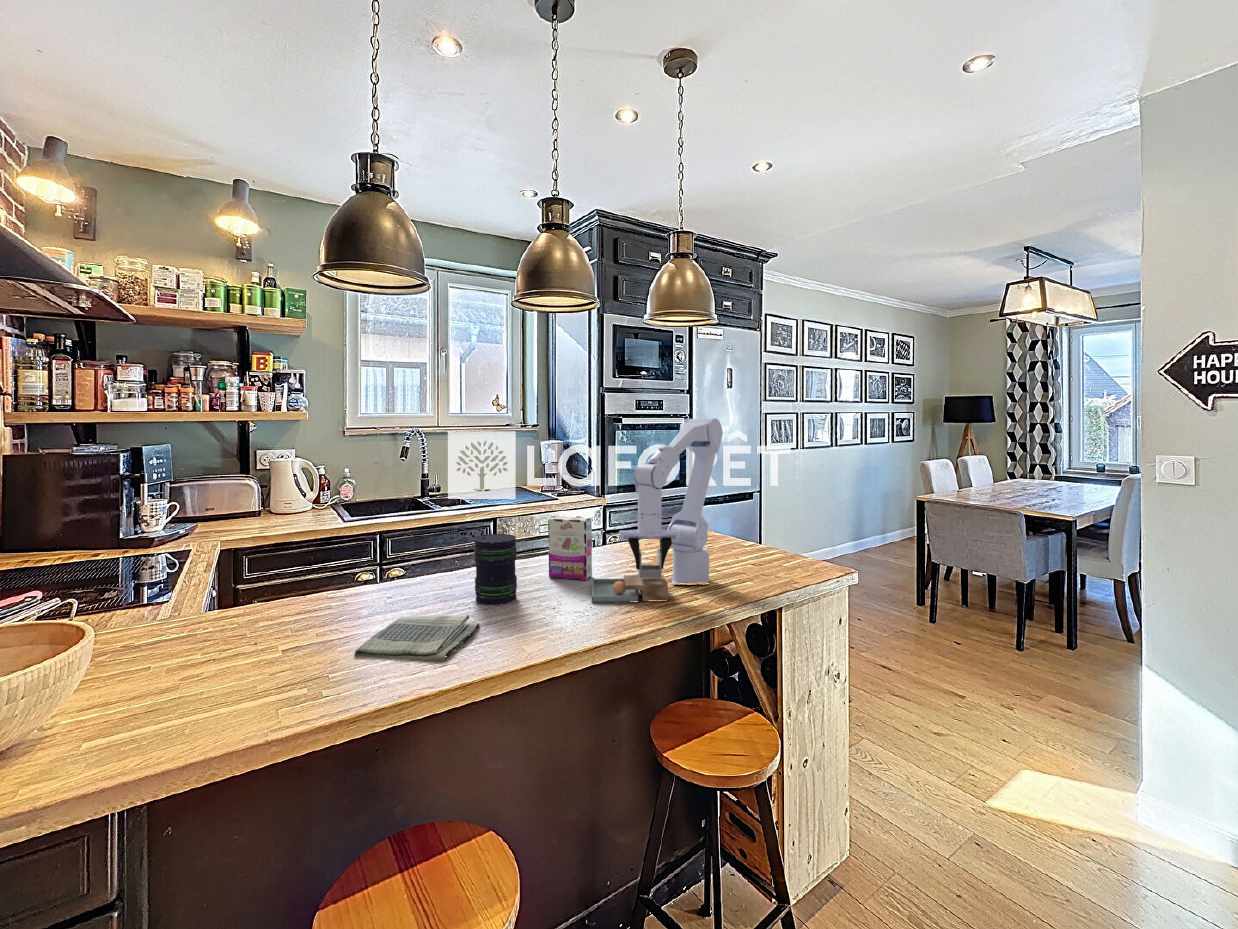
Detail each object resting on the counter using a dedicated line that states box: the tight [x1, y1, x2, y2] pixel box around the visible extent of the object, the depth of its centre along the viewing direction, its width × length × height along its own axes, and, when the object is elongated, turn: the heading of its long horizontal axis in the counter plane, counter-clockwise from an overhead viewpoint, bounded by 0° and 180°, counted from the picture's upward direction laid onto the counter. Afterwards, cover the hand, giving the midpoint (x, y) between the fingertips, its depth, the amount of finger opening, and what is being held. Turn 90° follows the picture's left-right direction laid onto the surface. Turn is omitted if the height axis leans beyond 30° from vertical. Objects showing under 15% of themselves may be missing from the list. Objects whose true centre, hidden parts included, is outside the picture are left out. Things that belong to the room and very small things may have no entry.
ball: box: [613, 581, 626, 595], centre depth 142 cm, size 3×3×3 cm
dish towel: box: [354, 614, 481, 662], centre depth 114 cm, size 19×18×3 cm
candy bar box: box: [547, 516, 593, 581], centre depth 159 cm, size 11×5×16 cm, turn 73°
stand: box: [623, 574, 669, 601], centre depth 142 cm, size 10×9×4 cm
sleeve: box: [637, 547, 662, 578], centre depth 142 cm, size 5×5×6 cm
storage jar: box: [473, 533, 518, 606], centre depth 139 cm, size 10×10×15 cm
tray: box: [591, 578, 639, 604], centre depth 145 cm, size 11×15×2 cm
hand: (649, 568), depth 142 cm, fingers closed on sleeve, 5 cm apart
